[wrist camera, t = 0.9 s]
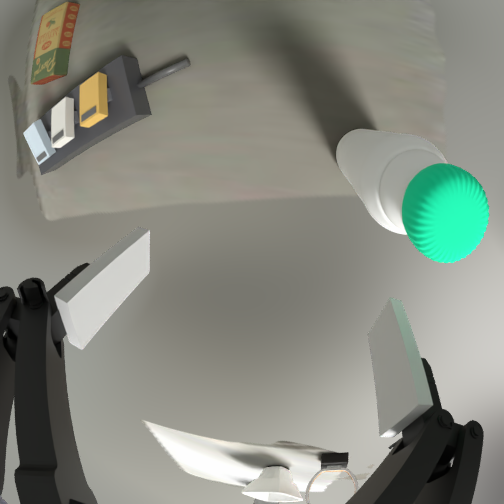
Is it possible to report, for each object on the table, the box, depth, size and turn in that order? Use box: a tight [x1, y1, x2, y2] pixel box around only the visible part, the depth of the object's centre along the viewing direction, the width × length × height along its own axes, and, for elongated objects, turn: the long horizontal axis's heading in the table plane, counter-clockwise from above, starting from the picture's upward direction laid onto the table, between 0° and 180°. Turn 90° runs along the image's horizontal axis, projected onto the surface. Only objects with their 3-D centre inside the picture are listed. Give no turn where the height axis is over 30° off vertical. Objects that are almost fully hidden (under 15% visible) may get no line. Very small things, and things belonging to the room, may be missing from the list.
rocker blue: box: [23, 119, 56, 165], centre depth 32 cm, size 7×4×2 cm, turn 15°
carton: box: [31, 2, 80, 85], centre depth 27 cm, size 8×16×4 cm, turn 174°
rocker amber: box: [80, 72, 108, 128], centre depth 28 cm, size 7×4×2 cm, turn 16°
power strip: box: [39, 55, 191, 175], centre depth 32 cm, size 10×33×5 cm, turn 105°
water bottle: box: [336, 129, 489, 263], centre depth 20 cm, size 7×7×25 cm
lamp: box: [305, 452, 358, 504], centre depth 55 cm, size 17×9×32 cm, turn 102°
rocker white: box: [51, 97, 74, 148], centre depth 30 cm, size 7×4×2 cm, turn 16°
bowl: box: [241, 466, 303, 502], centre depth 74 cm, size 19×19×14 cm
